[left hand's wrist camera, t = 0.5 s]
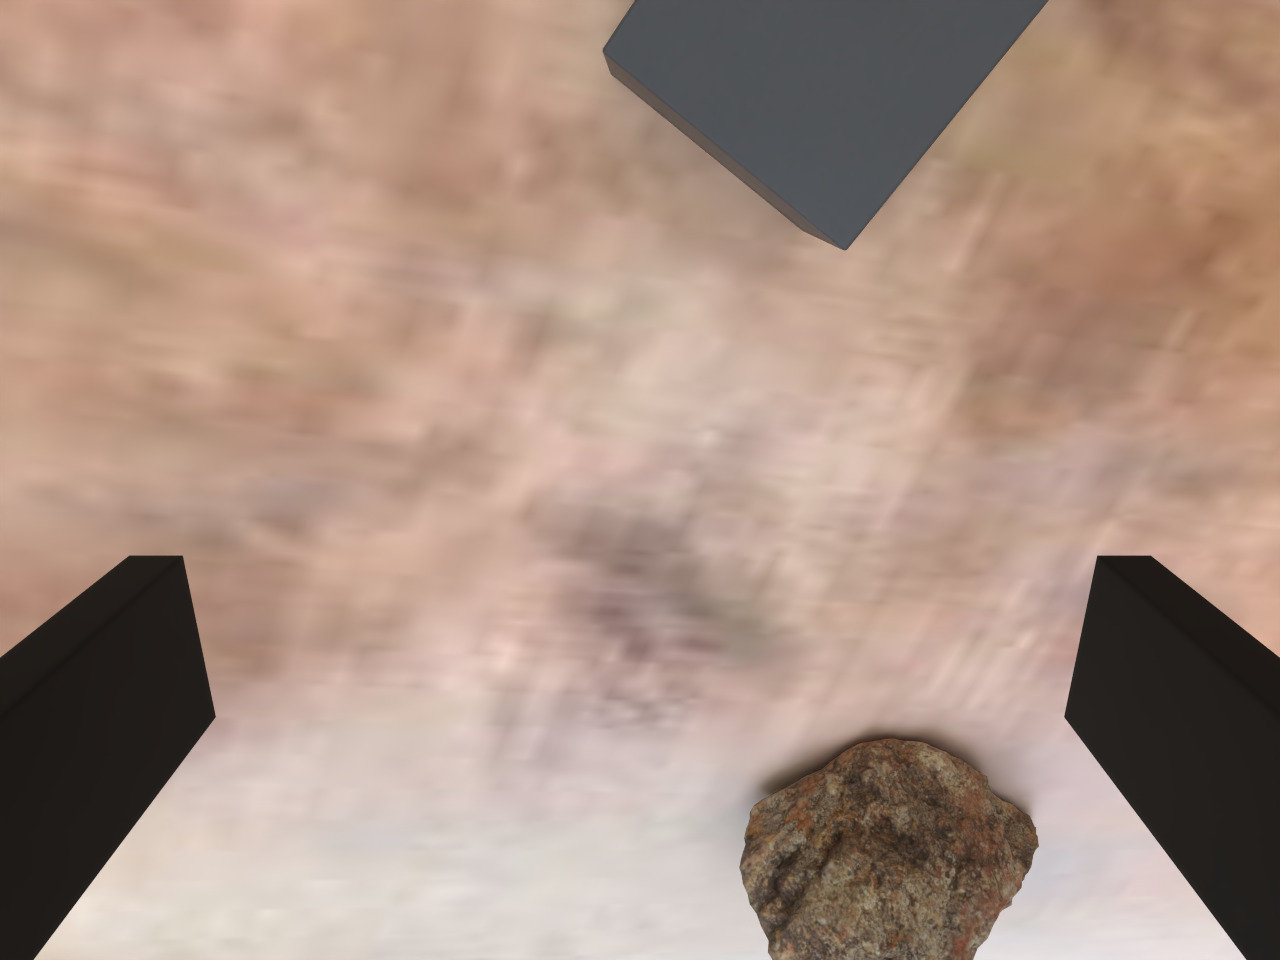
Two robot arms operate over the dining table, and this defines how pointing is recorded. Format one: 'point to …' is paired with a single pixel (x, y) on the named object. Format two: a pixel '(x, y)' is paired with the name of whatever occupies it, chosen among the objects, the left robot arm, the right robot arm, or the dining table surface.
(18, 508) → the dining table surface
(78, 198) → the dining table surface
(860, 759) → the rock
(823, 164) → the thick board
